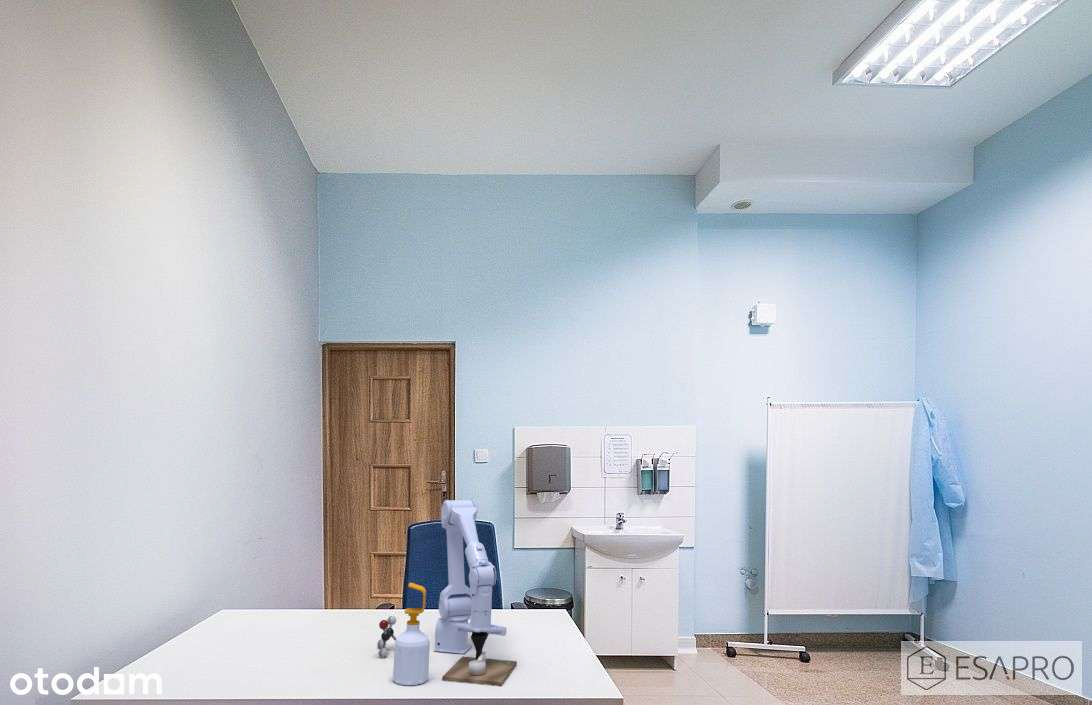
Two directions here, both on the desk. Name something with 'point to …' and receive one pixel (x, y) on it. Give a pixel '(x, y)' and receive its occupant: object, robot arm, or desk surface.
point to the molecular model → (386, 635)
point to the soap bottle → (412, 649)
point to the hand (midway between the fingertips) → (479, 659)
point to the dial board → (493, 675)
